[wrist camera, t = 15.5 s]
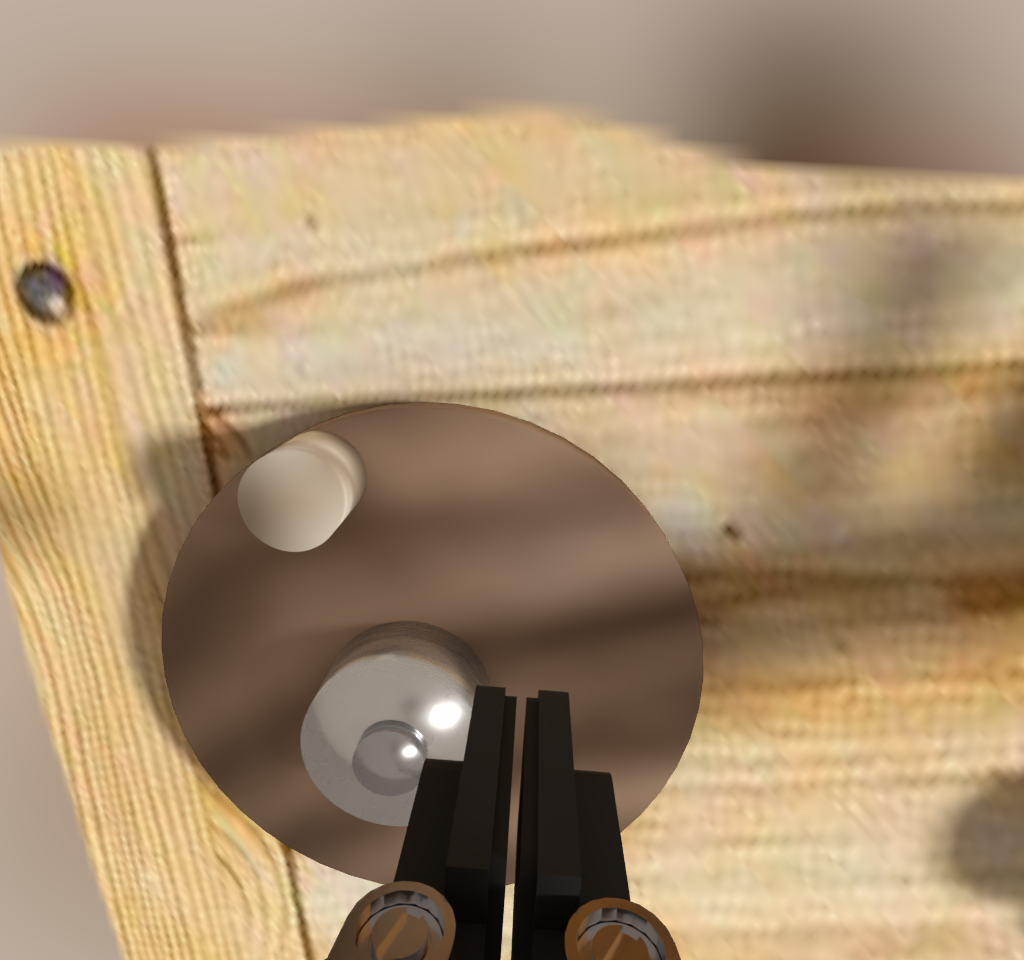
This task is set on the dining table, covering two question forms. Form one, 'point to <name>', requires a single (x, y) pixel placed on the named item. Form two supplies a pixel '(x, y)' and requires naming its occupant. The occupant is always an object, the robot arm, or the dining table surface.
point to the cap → (389, 717)
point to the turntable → (426, 606)
